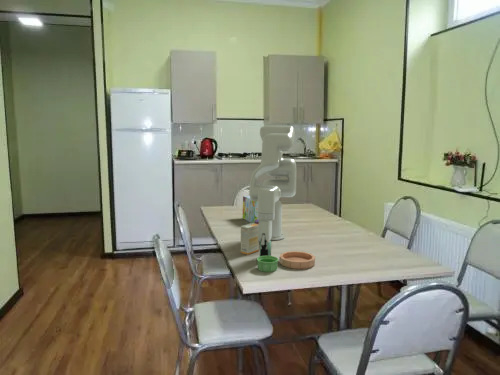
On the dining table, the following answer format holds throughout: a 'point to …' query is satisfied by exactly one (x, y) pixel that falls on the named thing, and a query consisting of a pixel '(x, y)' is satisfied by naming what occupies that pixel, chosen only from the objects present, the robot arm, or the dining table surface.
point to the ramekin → (267, 263)
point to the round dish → (297, 260)
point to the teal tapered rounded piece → (267, 248)
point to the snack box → (250, 210)
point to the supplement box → (249, 238)
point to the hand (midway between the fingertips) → (265, 255)
